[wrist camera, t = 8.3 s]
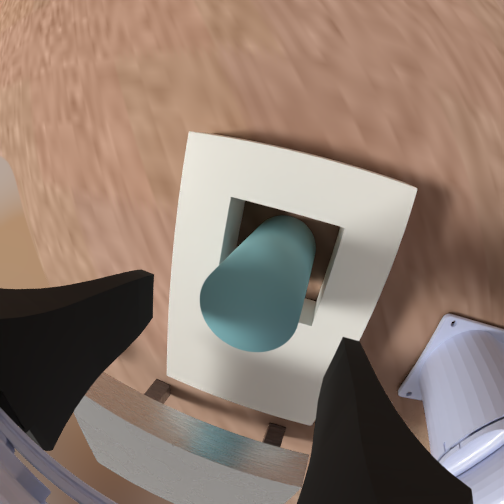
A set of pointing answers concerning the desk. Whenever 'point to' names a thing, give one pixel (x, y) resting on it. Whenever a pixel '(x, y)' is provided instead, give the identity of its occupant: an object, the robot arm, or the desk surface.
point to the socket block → (313, 312)
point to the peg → (261, 286)
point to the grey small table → (184, 449)
